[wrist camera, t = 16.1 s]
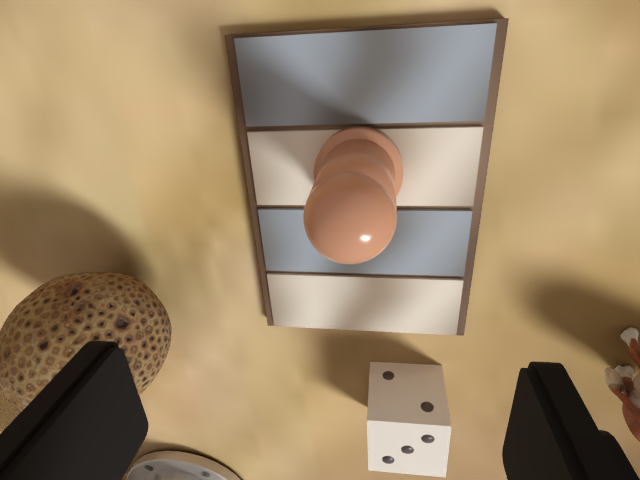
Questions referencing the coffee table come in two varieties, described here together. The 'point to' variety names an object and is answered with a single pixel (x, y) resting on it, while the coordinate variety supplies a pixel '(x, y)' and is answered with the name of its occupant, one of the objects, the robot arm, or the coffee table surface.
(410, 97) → the board
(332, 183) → the pawn
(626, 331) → the bull figurine
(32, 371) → the natural sponge
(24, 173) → the coffee table surface
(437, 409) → the die
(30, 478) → the robot arm
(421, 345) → the coffee table surface
